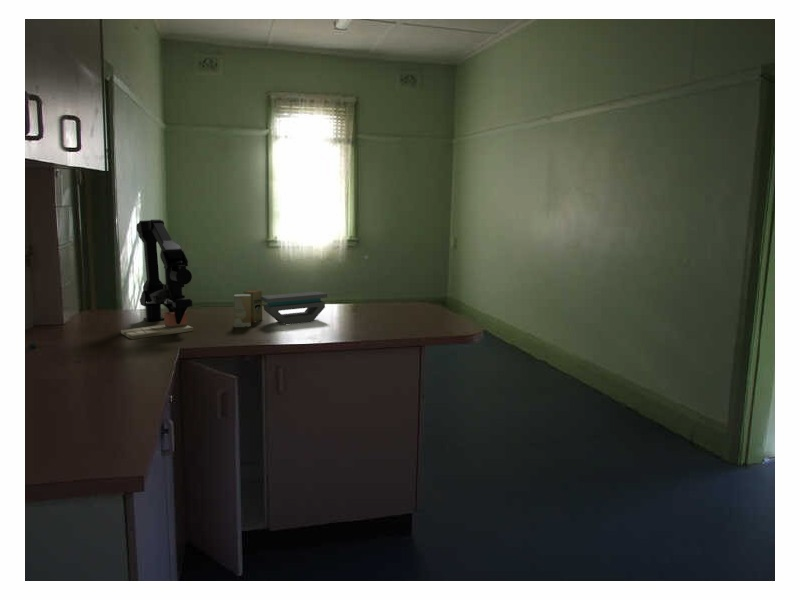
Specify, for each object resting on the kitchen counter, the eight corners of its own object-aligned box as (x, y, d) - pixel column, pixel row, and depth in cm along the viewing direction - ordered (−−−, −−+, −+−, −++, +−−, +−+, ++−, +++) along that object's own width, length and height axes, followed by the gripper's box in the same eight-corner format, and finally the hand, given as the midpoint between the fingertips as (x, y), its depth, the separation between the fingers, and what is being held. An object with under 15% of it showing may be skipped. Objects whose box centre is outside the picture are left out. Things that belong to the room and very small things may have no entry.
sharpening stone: (268, 326, 234) (267, 298, 232) (261, 323, 241) (260, 296, 239) (327, 320, 247) (327, 293, 245) (319, 317, 254) (319, 291, 252)
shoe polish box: (244, 321, 244) (243, 291, 242) (252, 319, 248) (251, 290, 246) (254, 322, 242) (253, 292, 240) (262, 320, 246) (261, 290, 244)
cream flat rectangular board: (120, 333, 221) (120, 330, 221) (181, 325, 235) (180, 322, 235) (131, 339, 212) (131, 335, 212) (193, 330, 226) (193, 327, 226)
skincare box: (234, 327, 232) (233, 296, 230) (234, 325, 236) (233, 294, 234) (251, 326, 234) (250, 295, 232) (251, 324, 238) (250, 293, 236)
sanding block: (164, 326, 227) (164, 312, 226) (183, 323, 232) (182, 310, 231) (168, 327, 224) (168, 314, 223) (187, 325, 229) (186, 312, 228)
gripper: (142, 280, 227) (145, 321, 229) (160, 286, 213) (163, 330, 216) (172, 278, 234) (174, 318, 237) (192, 283, 220) (194, 326, 223)
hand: (176, 323), depth 228 cm, fingers closed on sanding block, 4 cm apart
